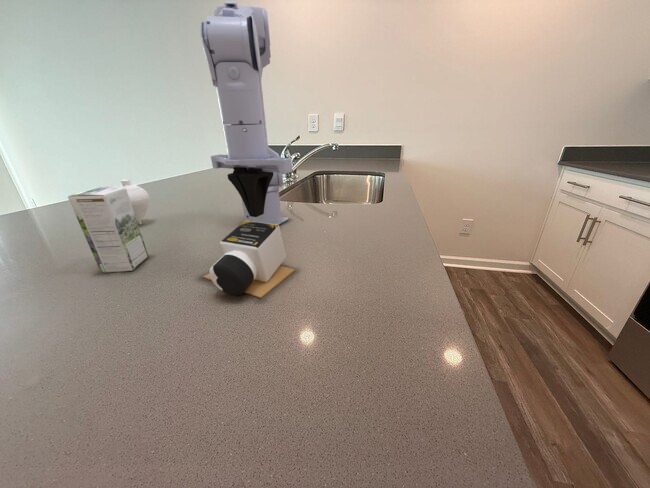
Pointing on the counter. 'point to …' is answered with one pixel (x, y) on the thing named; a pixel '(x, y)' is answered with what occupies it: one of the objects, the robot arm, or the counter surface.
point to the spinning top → (137, 199)
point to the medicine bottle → (248, 256)
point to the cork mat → (263, 288)
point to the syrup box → (110, 228)
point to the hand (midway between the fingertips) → (256, 215)
